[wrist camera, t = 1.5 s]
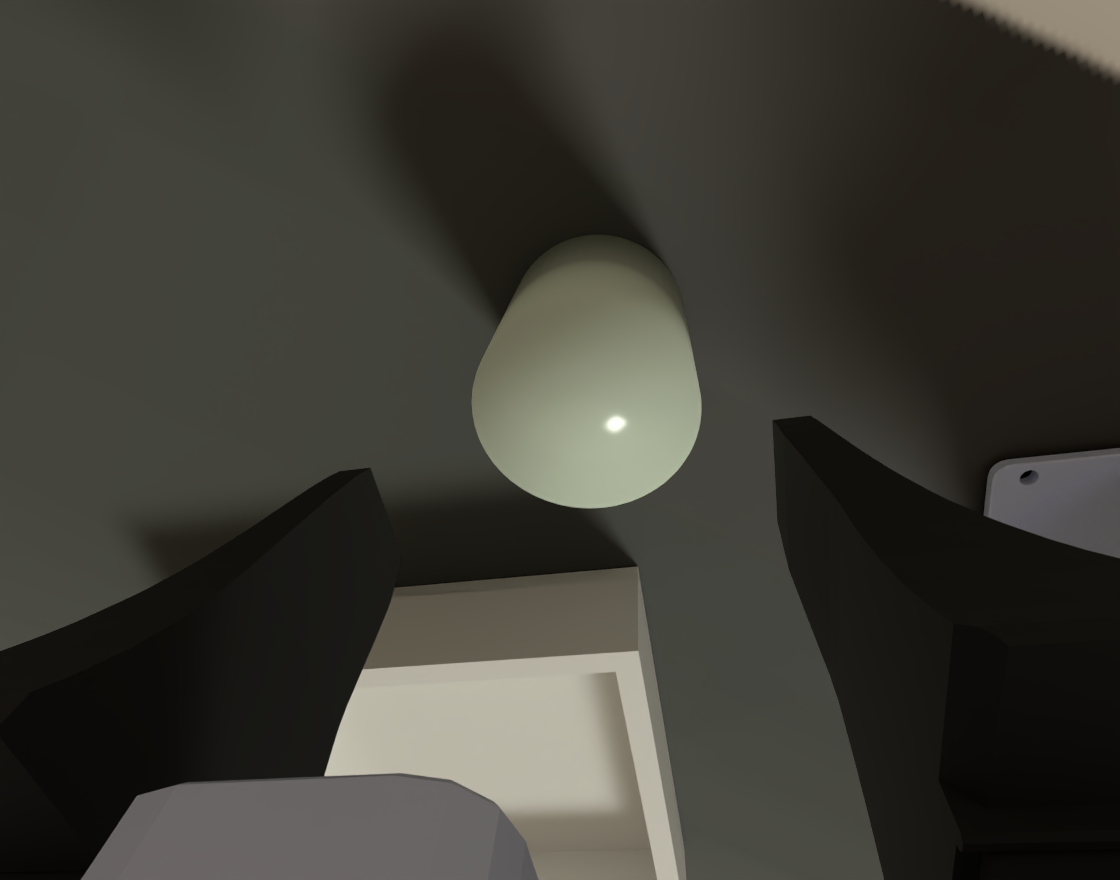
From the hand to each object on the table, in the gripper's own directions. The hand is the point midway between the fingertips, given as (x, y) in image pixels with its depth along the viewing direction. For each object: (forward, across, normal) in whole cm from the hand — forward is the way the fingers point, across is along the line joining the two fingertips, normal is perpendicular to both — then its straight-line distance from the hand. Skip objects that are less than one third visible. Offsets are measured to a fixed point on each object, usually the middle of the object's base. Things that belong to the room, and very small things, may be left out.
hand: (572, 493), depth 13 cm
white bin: (+9, +8, +17) cm, 21 cm away
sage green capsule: (+9, 0, 0) cm, 9 cm away
